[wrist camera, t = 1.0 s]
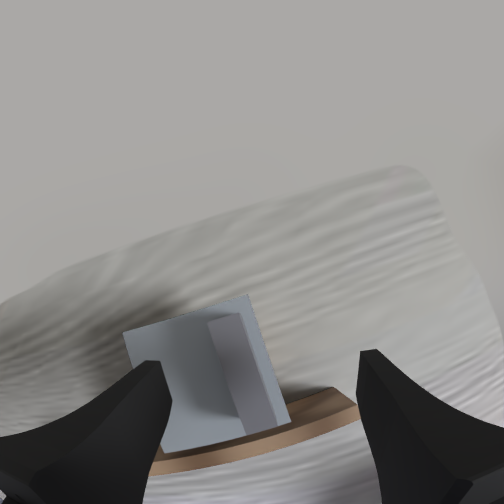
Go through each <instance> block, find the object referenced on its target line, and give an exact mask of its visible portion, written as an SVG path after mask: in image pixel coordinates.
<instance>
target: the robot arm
mask: <svg viewBox="0 0 504 504" xmlns="http://www.w3.org/2000/svg"><path fill="white" fill-rule="evenodd" d="M356 397H357V403H358V408H359V413H360V417H361V421H362V424H363V427H364V430H365V433H366V436H367V439H368V442H369V445H370V448H371V452H372V455H373V458H374V461H375V464H376V468H377V472H378V478H379V484H380V490H381V497H382V504H504V428H503V427H500V426H496V425H493V424H490V423H487V422H484V421H482V420H479V419H476V418H474V417H472V416H470V415H467V414H465V413H463V412H461V411H459V410H457V409H455V408H453V407H451V406H450V405H448V404H446V403H444V402H443V401H441V400H439V399H438V398H436V397H435V396H433V395H432V394H430V393H429V392H427V391H426V390H425V389H423V388H422V387H420V386H419V385H418V384H417V383H415V382H414V381H413V380H411V379H410V378H409V377H408V376H407V375H405V374H404V373H403V372H402V371H401V370H400V369H398V368H397V367H396V366H395V365H394V364H393V363H392V362H391V361H389V360H388V359H387V358H386V357H385V356H384V355H383V354H382V353H381V352H380V351H378V350H377V349H373V350H366V351H360V360H359V370H358V379H357V388H356ZM172 402H173V400H172V397H171V394H170V391H169V387H168V384H167V381H166V378H165V375H164V372H163V368H162V365H161V362H160V361H155V360H145V361H144V362H142V363H141V364H139V365H138V366H137V367H135V368H134V369H133V370H132V371H130V372H129V373H128V374H127V375H125V376H124V377H123V378H121V379H120V380H119V381H118V382H116V383H115V384H114V385H112V386H111V387H110V388H109V389H107V390H106V391H104V392H103V393H102V394H100V395H99V396H97V397H96V398H94V399H93V400H92V401H90V402H89V403H87V404H86V405H84V406H82V407H81V408H79V409H77V410H75V411H74V412H72V413H70V414H68V415H66V416H64V417H62V418H60V419H58V420H55V421H53V422H51V423H48V424H46V425H44V426H41V427H38V428H35V429H32V430H29V431H26V432H22V433H18V434H14V435H9V436H4V437H0V490H1V491H2V492H3V493H4V494H5V495H6V498H5V499H4V501H3V500H2V499H1V498H0V504H142V503H143V497H144V492H145V488H146V484H147V479H148V475H149V472H150V469H151V466H152V463H153V461H154V458H155V456H156V453H157V450H158V448H159V445H160V443H161V440H162V437H163V435H164V432H165V429H166V427H167V424H168V420H169V416H170V412H171V407H172Z"/></svg>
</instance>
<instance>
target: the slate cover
mask: <svg viewBox="0 0 504 504" xmlns="http://www.w3.org/2000/svg"><path fill="white" fill-rule="evenodd" d="M122 333H123V337H124V341H125V344H126V348H127V351H128V354H129V358H130V361H131V364H132V367H133V369H134V368H135V367H137V366H138V365H139V364H141V363H142V362H144V361H145V360H155V361H160V362H161V365H162V368H163V372H164V375H165V378H166V381H167V384H168V387H169V391H170V394H171V397H172V400H173V402H172V407H171V412H170V416H169V420H168V424H167V427H166V429H165V432H164V435H163V437H162V440H161V443H160V444H161V447H162V449H163V451H164V453H170V452H176V451H181V450H186V449H192V448H196V447H201V446H206V445H210V444H215V443H219V442H223V441H227V440H231V439H235V438H239V437H243V436H247V435H251V434H254V433H258V432H261V431H264V430H268V429H271V428H274V427H277V426H280V425H283V424H286V423H289V422H291V419H290V416H289V414H288V411H287V408H286V405H285V402H284V399H283V396H282V393H281V391H280V388H279V385H278V382H277V379H276V376H275V373H274V370H273V367H272V364H271V361H270V358H269V355H268V353H267V350H266V347H265V344H264V341H263V338H262V335H261V332H260V329H259V326H258V323H257V320H256V317H255V314H254V311H253V308H252V305H251V302H250V299H249V296H248V294H247V295H244V296H241V297H238V298H235V299H231V300H228V301H225V302H222V303H219V304H216V305H213V306H209V307H206V308H203V309H200V310H197V311H193V312H190V313H187V314H183V315H180V316H177V317H174V318H170V319H167V320H164V321H160V322H157V323H153V324H150V325H147V326H143V327H140V328H136V329H133V330H129V331H126V332H122Z"/></svg>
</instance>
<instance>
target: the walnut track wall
mask: <svg viewBox="0 0 504 504" xmlns="http://www.w3.org/2000/svg"><path fill="white" fill-rule="evenodd" d="M285 405H286V408H287V411H288V414H289V416H290V419H291V422H289V423H286V424H283V425H280V426H277V427H274V428H271V429H268V430H264V431H261V432H258V433H254V434H251V435H247V436H243V437H239V438H235V439H231V440H227V441H223V442H219V443H215V444H210V445H206V446H201V447H196V448H192V449H186V450H181V451H176V452H170V453H164V451H163V449H162V447H161V444H160V445H159V448H158V450H157V453H156V456H155V458H154V461H153V463H152V466H151V469H150V472H149V475H148V476H156V475H164V474H171V473H177V472H184V471H190V470H195V469H201V468H206V467H211V466H216V465H220V464H225V463H229V462H233V461H238V460H242V459H246V458H249V457H253V456H257V455H261V454H264V453H268V452H271V451H274V450H278V449H281V448H284V447H287V446H290V445H294V444H297V443H300V442H302V441H305V440H308V439H311V438H314V437H317V436H319V435H322V434H325V433H327V432H330V431H332V430H335V429H338V428H340V427H342V426H345V425H347V424H350V423H352V422H354V421H357V420H359V419H361V417H360V413H359V409H358V405H357V404H356V403H354V402H353V401H352V400H350V399H349V398H348V397H346V396H345V395H344V394H342V393H341V392H340V391H338V390H337V389H336V388H334V387H332V388H329V389H327V390H324V391H322V392H319V393H316V394H314V395H311V396H308V397H305V398H303V399H300V400H297V401H294V402H291V403H288V404H285Z"/></svg>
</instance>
